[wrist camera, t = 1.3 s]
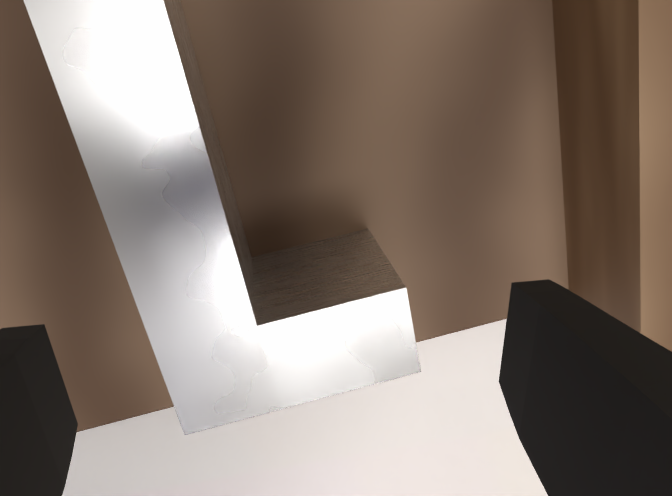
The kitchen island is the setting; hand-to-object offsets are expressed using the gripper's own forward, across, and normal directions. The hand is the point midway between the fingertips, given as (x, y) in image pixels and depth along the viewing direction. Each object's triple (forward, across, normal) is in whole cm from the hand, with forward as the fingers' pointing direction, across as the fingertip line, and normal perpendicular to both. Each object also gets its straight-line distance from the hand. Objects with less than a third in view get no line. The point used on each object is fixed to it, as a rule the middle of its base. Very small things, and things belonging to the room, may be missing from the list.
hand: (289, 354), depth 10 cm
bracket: (+9, +1, 0) cm, 9 cm away
